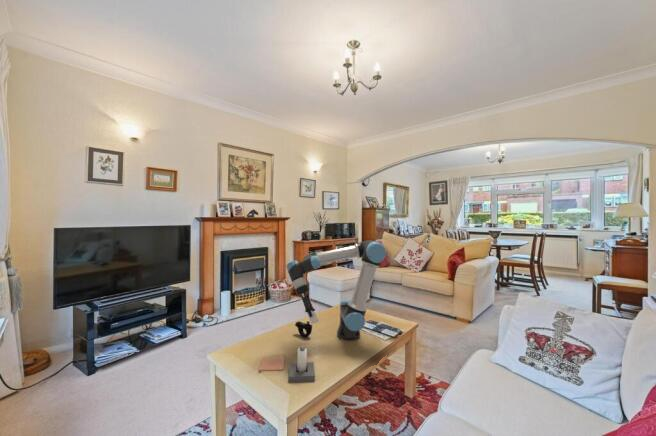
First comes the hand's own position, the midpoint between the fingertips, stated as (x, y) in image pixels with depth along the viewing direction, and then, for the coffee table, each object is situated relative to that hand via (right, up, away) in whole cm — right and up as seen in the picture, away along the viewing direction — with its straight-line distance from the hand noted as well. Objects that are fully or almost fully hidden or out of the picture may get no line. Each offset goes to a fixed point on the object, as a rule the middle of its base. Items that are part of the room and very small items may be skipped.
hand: (315, 322), depth 152 cm
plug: (-6, -18, -17) cm, 26 cm away
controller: (-9, -19, +26) cm, 33 cm away
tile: (-22, -18, -9) cm, 30 cm away
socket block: (-6, -19, -17) cm, 26 cm away
